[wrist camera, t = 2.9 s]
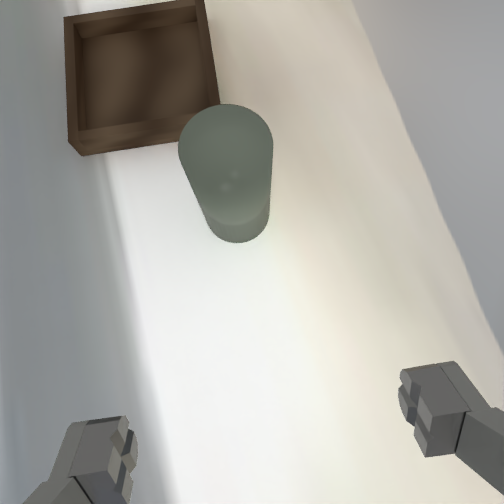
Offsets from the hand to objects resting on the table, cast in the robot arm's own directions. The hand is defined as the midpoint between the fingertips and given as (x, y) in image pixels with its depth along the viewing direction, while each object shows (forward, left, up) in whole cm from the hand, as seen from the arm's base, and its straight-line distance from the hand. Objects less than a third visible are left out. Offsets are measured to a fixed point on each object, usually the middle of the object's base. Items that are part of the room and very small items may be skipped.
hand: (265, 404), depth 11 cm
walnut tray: (-6, +25, -16) cm, 30 cm away
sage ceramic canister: (0, +12, -16) cm, 20 cm away
